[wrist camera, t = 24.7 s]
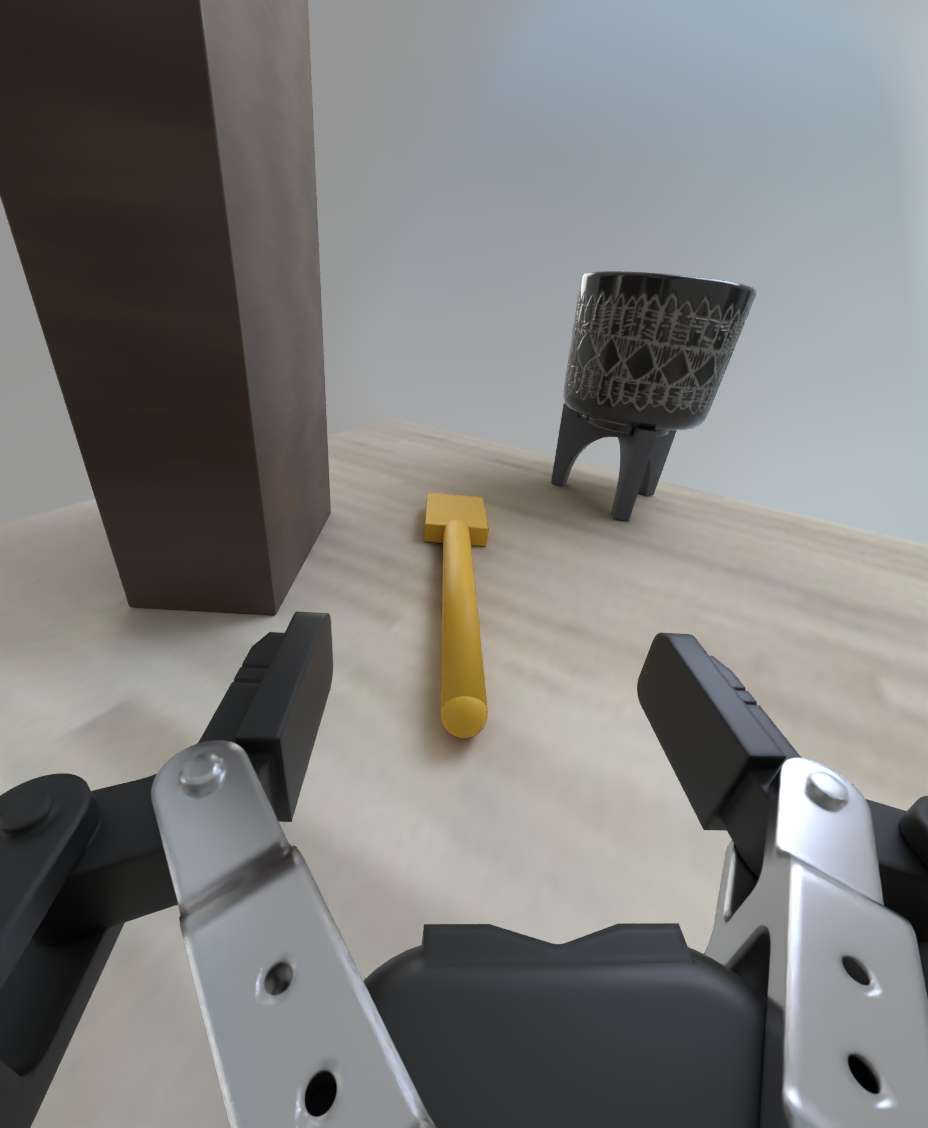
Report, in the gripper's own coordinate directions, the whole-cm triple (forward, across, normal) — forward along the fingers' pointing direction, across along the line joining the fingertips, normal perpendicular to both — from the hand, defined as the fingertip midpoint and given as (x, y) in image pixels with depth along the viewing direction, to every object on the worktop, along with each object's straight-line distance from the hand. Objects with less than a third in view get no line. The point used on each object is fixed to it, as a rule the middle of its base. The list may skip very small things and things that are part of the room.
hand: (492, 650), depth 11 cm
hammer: (+14, 0, +7) cm, 16 cm away
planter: (+32, -15, +7) cm, 36 cm away
